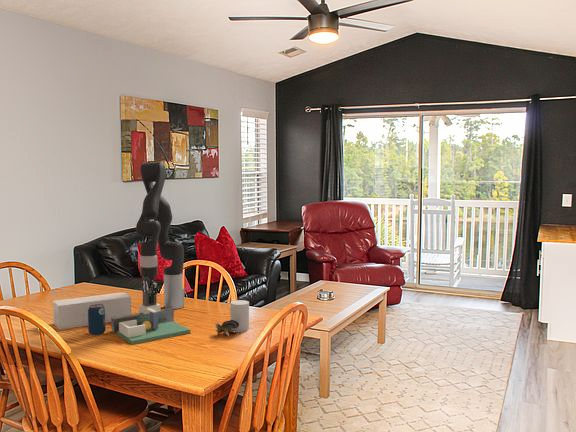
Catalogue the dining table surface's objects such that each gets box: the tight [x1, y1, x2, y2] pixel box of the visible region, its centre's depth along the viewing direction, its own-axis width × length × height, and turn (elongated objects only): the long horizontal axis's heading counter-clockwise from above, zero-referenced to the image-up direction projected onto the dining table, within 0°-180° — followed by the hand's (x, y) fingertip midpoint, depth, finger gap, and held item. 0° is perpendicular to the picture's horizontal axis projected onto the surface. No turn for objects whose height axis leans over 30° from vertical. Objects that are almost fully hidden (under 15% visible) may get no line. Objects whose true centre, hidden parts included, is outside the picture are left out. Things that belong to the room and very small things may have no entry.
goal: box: [119, 320, 146, 338], centre depth 230 cm, size 8×10×4 cm
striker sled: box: [138, 291, 161, 329], centre depth 242 cm, size 8×16×13 cm, turn 38°
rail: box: [110, 308, 175, 334], centre depth 245 cm, size 28×3×6 cm, turn 128°
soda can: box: [87, 304, 107, 337], centre depth 234 cm, size 7×7×12 cm
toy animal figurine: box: [215, 320, 239, 337], centre depth 234 cm, size 8×7×9 cm
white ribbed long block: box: [52, 291, 132, 330], centre depth 253 cm, size 32×11×11 cm, turn 124°
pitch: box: [116, 320, 191, 346], centre depth 234 cm, size 26×16×2 cm, turn 128°
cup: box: [229, 299, 250, 333], centre depth 242 cm, size 8×8×12 cm
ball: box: [142, 321, 152, 331], centre depth 234 cm, size 4×4×4 cm
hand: (149, 302), depth 246 cm, fingers closed on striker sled, 3 cm apart
